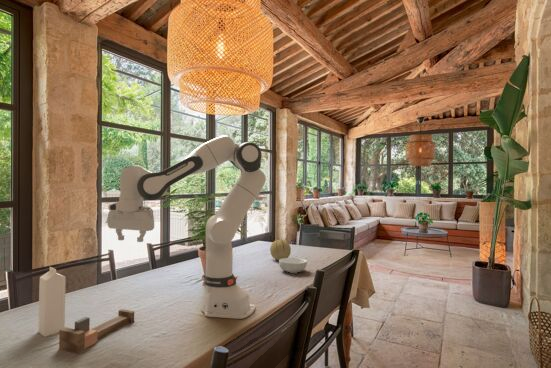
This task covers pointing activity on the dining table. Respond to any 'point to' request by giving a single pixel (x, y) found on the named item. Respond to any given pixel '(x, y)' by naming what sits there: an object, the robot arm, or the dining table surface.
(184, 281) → the dining table surface
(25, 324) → the dining table surface
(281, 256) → the cantaloupe
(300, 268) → the cereal bowl
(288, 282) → the dining table surface
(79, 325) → the slider
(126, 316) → the rail
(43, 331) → the milk
